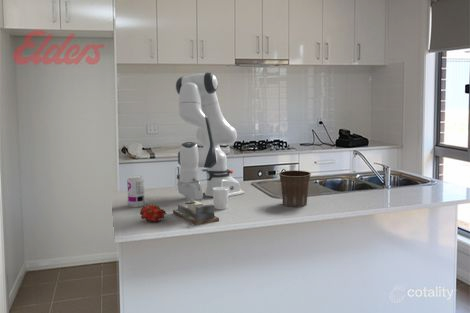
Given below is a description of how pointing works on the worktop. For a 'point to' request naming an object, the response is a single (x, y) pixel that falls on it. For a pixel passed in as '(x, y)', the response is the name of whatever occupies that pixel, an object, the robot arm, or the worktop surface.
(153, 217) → the dragon fruit
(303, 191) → the plant pot
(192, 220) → the base
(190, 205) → the cream block with rod
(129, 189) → the supplement can
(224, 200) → the white cup
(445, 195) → the worktop surface
